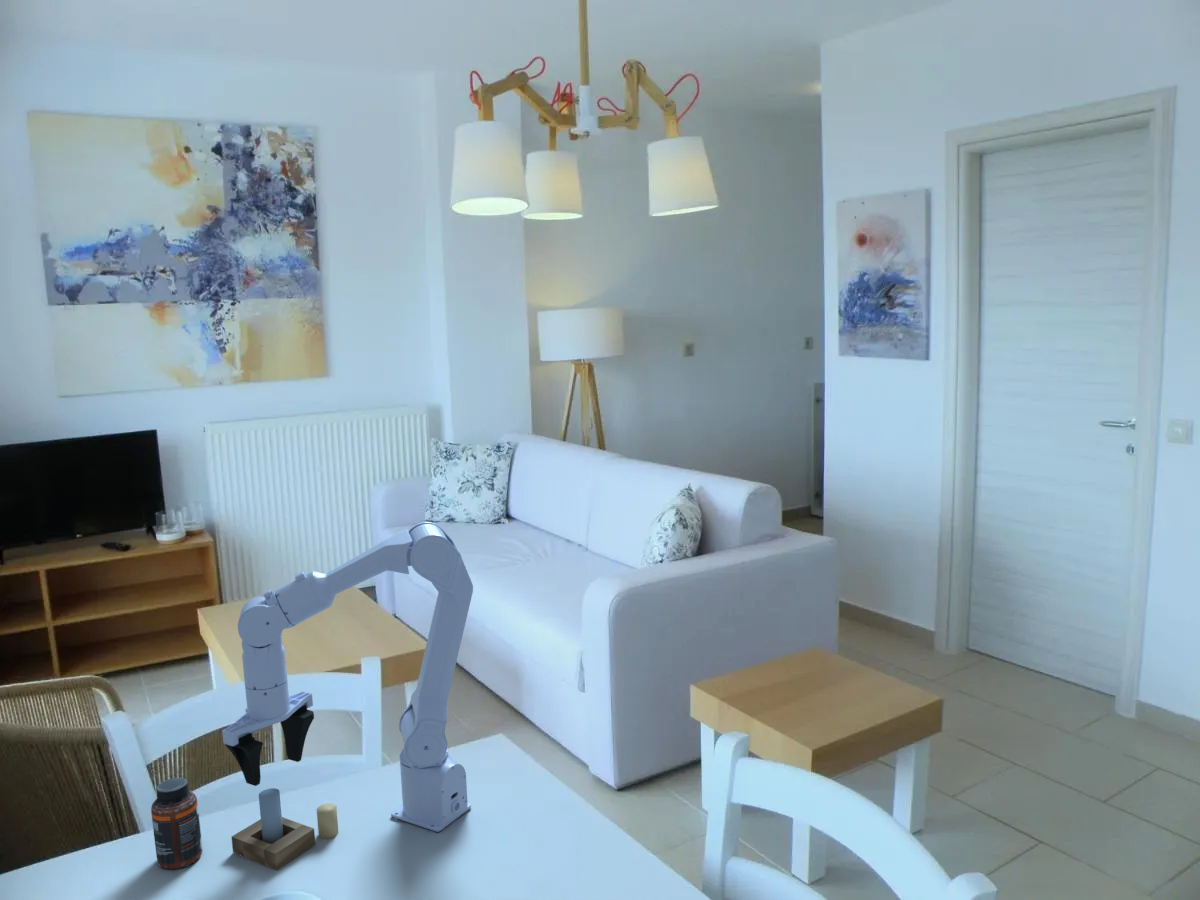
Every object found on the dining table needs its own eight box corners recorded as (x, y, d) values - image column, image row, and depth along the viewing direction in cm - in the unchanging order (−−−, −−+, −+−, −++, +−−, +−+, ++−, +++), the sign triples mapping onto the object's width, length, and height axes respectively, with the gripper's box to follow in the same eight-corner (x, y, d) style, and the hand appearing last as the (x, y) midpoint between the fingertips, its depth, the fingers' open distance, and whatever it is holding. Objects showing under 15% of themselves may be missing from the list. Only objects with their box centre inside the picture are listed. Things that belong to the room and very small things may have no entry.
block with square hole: (315, 844, 135) (314, 828, 135) (276, 870, 130) (275, 853, 129) (272, 828, 140) (271, 812, 140) (233, 852, 134) (231, 836, 134)
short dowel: (342, 831, 139) (340, 806, 138) (328, 840, 136) (326, 815, 136) (328, 826, 140) (326, 801, 140) (314, 835, 138) (312, 810, 137)
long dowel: (288, 846, 135) (283, 791, 134) (272, 856, 133) (267, 800, 132) (275, 841, 137) (270, 786, 135) (259, 850, 134) (254, 795, 133)
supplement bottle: (211, 847, 136) (203, 773, 134) (189, 872, 130) (181, 795, 128) (171, 846, 136) (163, 773, 134) (148, 870, 130) (139, 794, 129)
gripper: (286, 659, 142) (293, 744, 144) (204, 696, 130) (213, 788, 132) (320, 667, 138) (327, 754, 141) (239, 705, 126) (248, 799, 128)
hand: (274, 771), depth 136 cm, fingers open, 7 cm apart
